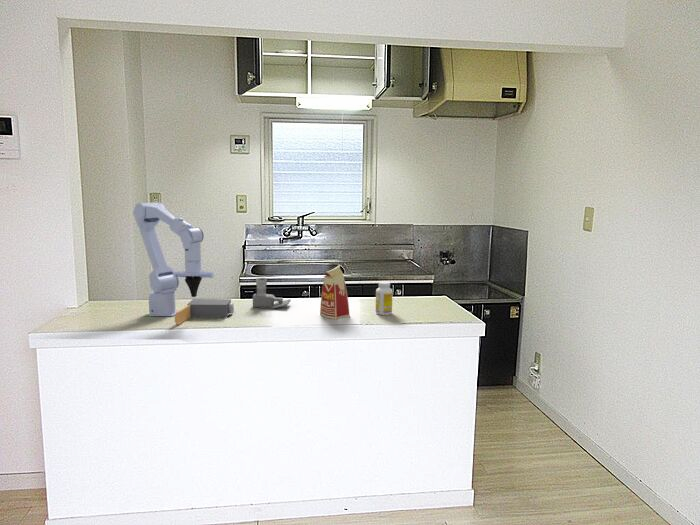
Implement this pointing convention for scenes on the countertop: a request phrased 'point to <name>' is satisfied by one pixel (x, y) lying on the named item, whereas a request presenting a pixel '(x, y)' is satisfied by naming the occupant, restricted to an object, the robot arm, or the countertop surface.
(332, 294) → the milk carton
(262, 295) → the camera
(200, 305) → the camera case
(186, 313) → the case door
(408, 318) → the countertop surface
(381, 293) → the supplement bottle
